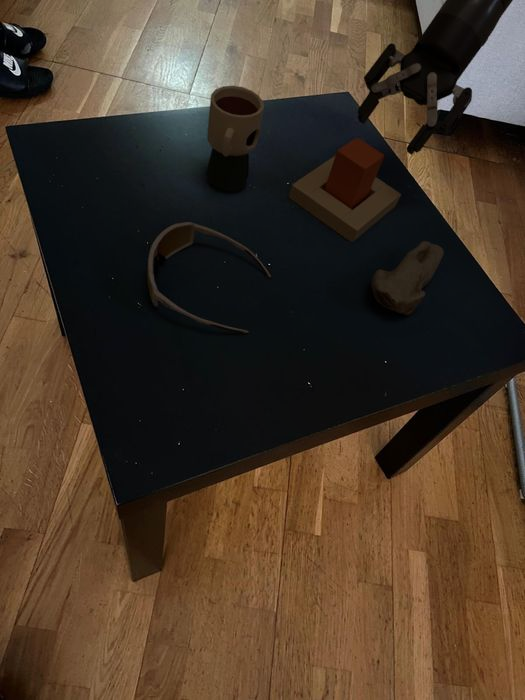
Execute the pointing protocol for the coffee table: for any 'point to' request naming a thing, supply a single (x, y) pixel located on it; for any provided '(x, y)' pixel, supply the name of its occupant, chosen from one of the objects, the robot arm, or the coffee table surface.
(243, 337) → the coffee table surface
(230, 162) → the character mug
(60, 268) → the coffee table surface
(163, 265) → the coffee table surface
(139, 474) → the coffee table surface
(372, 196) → the base pad
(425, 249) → the sculpture
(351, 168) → the post
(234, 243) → the sunglasses
